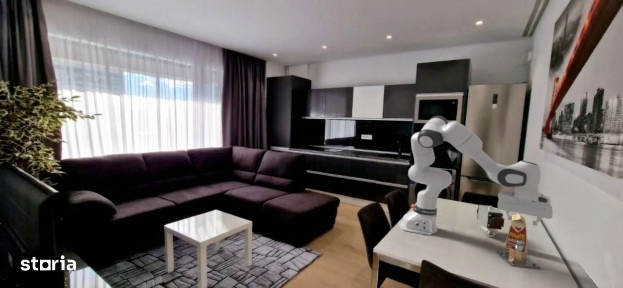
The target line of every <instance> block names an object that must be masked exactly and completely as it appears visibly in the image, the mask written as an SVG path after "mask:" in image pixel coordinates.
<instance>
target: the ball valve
mask: <svg viewBox="0 0 623 288" xmlns="http://www.w3.org/2000/svg"><path fill="white" fill-rule="evenodd" d="M477 205H478V207H477V209H476V213H477V214H476V215H477V216H476V220H478V222H480V223H481V224H482V225H481V226H480V229H481V230H480V231H481V232H482V233H484V234H485V236H487V237H489V238H494V237H495V236H498V234H499V231H498V230H502V228H504V225H505V218H504V213H502V212H501V210H500V209H499V208H496V207H493V206H492V205H488V204H487V205H485V204H477Z"/></svg>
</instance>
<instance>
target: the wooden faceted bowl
mask: <svg viewBox="0 0 623 288" xmlns="http://www.w3.org/2000/svg"><path fill="white" fill-rule="evenodd" d="M514 248H515V246H510V247H509V249H508V252H509V258H511V259H512V260H514V261H518V262H526V259H527V257H528V249H527V250H526V249H524V248H523V250H522V252H521V251H517V250H515V249H514Z"/></svg>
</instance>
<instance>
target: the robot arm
mask: <svg viewBox="0 0 623 288" xmlns="http://www.w3.org/2000/svg"><path fill="white" fill-rule="evenodd" d="M444 142H447V143H448V144H451V145H452V146H453V147H454V148H455V149H456V150H457V151H458V152H460V153H461V154H462V155H465V156H467V157H468V158H470V159H472V161H474V162H475V163H477V165H479V167H480V168H482V169H483V171H484V172H485V175H486V177H487V178H488V179H489V180H490V181H491V182H493V183H496V184H498V185H500V186H503V187H507V188H514V189H513V192H511V191H506V190H505V191H503V190H502V191H499V192H498V194H497V198H498V201H497V209H498V210H500V211H501V210H502V211H505V214H506V215H507V220H509V221H511V220H512V215H510V212H513V213H517V214H519V213H520V215H521V214H523V215H527V216H532V217H536V219H535V220H532V226H534V227H535V226H538V223H539V222H540V221H541V220H542V218H543V219H547V220H550V219H552V218H553V214H554V213H553V211H554V210H553V206H552V204H551V202H552V200H551V198H550V197H549V196H547V195H544V194H542V193H540V192H539V191H540V190H539V184H540V181H541V166H540V165H539V164H537V163H534V162H530V161H526V160H520V161H518V162H516V163H513V164H510V165H505V164H503V163H499V162H496V161H494V159H493V158H492V157H490V156H489V155H488V154H487V153H486V152H485V151H484V150H483V145H484V144H483V141H482V140H481V138H480V137H479V136H478V135H477V134H476V133H475V132H473V131H472V130H471V129H470V128H468V127H467V126H465V125H464V124H462V123H461V122H458V121H456V120H454V121H451V122H449V121H448V120H447V119H446V117H444V116H442V115H435V116H432V117H431V118H430V119H429V120H428V121H427V122H426V123H425V124H424V125H423V127H422V128H421V130H420V131H418V132H415V133H414V134H413V135H412V136H411V138H410V143H411V144H410V145H411V151H412V154H413V155H412V156H413V159H414V160H413V161H414V163H413V165H411V167H410V168H409V169H408V172H407V173H408V174H407V176H408V178H409V180H411V181H412V182H415V183H419V184H423V185H426V189H422V190H420V191H419V192H418V193H417V199H416V204H413V203H412V204H410V205H411V208H412V210H411V211H409V212H407V213H406V214H404V215H403V218H402V220H399V221H398V226H399V228H400V229H401V230H402V231H405V232H409V233H415V234H421V235H427V236H432V234H436V233H438V228H437V215H438V208H437V203H438V198H439V194H440V193H441V192H442V191H443V190H444V189H446V188H448V187H450V185H451V184H452V181H453V179H452V178H453V177H452V174H451V173H450V172H449V171H447V170H444V169H441V168H436V167H431V165H432V164H433V163H434V162H435V159H436V156H435V152H434V149H433V148H435V147H437V146H440V145H442V144H443V143H444Z"/></svg>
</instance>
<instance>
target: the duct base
mask: <svg viewBox="0 0 623 288" xmlns="http://www.w3.org/2000/svg"><path fill="white" fill-rule="evenodd" d="M521 244H522V241H520V240H517V243H516V244H515V248H514V249H515V250H517V251H521V252H522V250H523V245H521ZM497 253H498V254H499V257H500V258H502V259H503V260H504V261H505V260H506V261H507V262H506V261H505V262H506V263H507V264H508V265H509V266H511V267H516V266H517V267H519V268H527V269H535V270H536V269H537V270H541V266H540V265H538V264H537V263H535V262H534V261H533V260H532V259H530V258H529V257H528V256H527V259H526V262H518V261H514V260H512V259H511V258H509V251H500V250H496V254H497ZM498 254H497V255H498Z"/></svg>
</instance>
